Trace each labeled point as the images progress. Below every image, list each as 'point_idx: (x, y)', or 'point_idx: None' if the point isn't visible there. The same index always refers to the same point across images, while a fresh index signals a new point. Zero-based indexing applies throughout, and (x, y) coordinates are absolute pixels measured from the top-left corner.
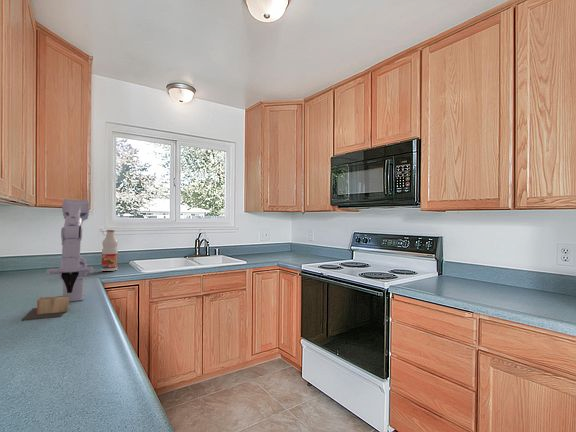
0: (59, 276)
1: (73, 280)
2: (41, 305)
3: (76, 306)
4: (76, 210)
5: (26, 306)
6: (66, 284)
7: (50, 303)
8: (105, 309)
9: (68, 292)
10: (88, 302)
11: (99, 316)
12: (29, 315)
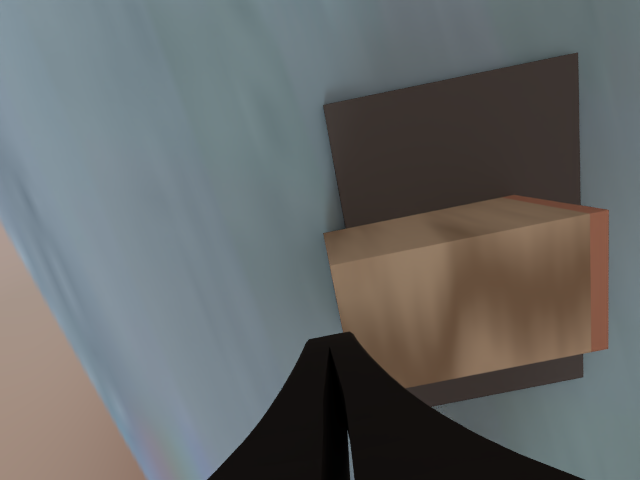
0: None
1: (247, 467)
2: (529, 209)
3: None
4: None
5: (631, 442)
6: (384, 388)
7: (465, 224)
8: (55, 257)
9: (339, 336)
10: None
11: (6, 34)
12: (555, 171)
